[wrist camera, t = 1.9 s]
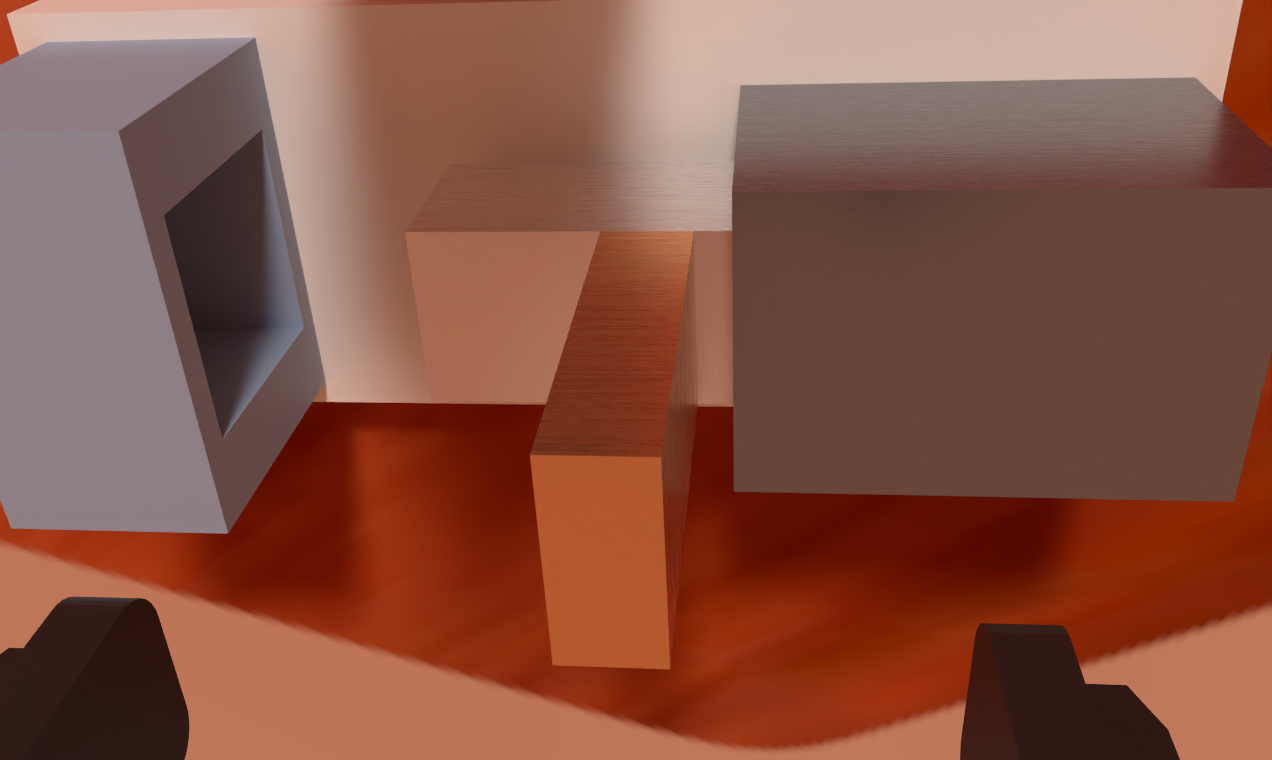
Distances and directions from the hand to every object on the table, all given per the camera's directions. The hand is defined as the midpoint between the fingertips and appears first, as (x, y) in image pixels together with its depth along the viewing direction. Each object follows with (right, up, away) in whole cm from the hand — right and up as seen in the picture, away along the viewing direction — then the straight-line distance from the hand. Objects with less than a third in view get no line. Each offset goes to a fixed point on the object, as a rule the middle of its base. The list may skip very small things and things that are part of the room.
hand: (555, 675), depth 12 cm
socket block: (-8, +6, +11) cm, 15 cm away
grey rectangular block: (+6, +6, +10) cm, 13 cm away
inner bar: (+4, +5, +9) cm, 11 cm away
